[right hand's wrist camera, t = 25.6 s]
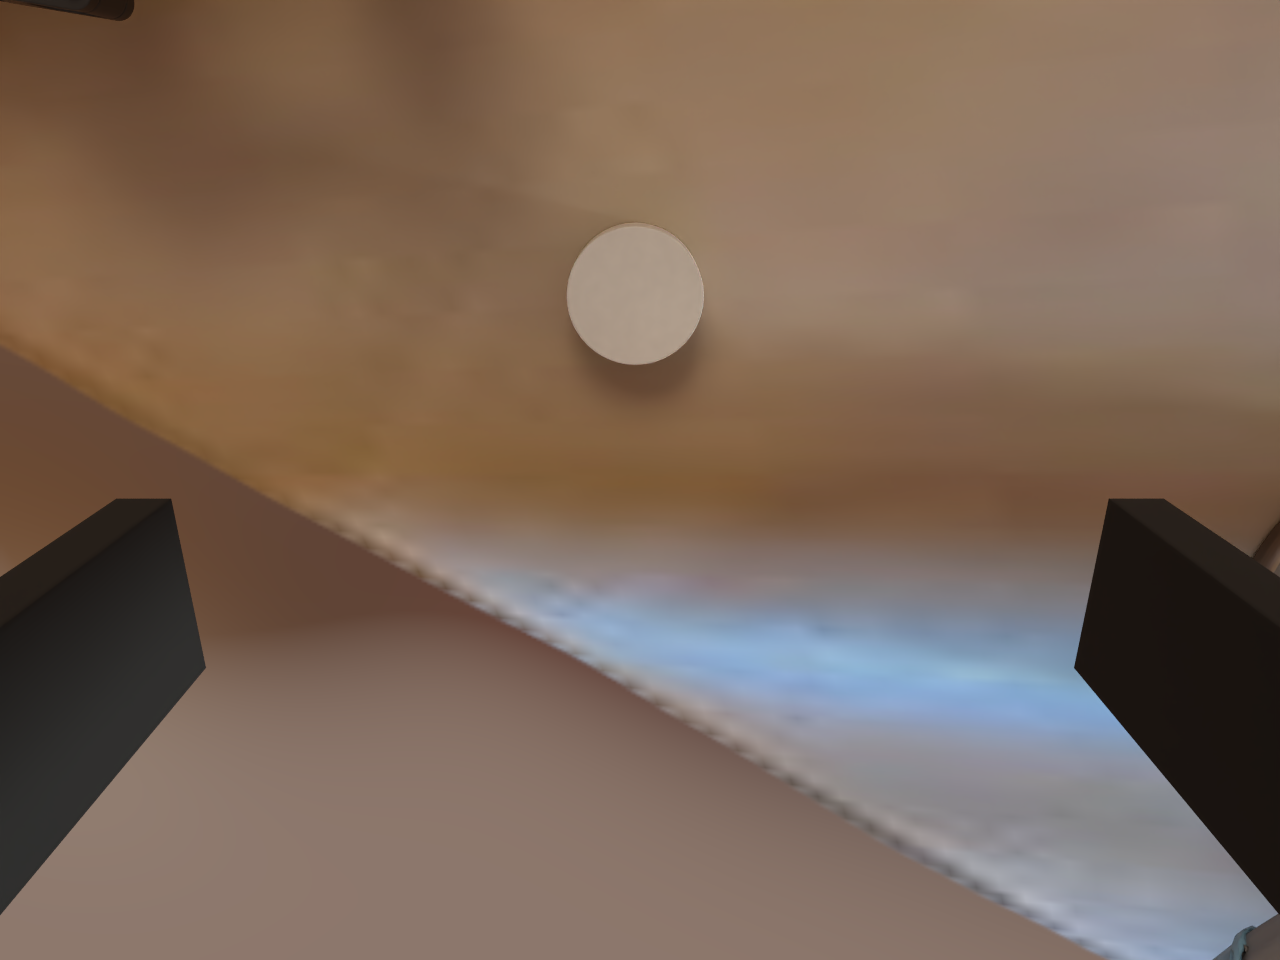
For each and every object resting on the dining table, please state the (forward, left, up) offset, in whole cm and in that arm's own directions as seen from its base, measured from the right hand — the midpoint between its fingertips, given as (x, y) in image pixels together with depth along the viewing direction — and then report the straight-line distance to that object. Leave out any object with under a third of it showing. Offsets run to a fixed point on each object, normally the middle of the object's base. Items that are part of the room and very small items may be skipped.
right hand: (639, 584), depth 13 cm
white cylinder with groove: (0, 0, -25) cm, 25 cm away
